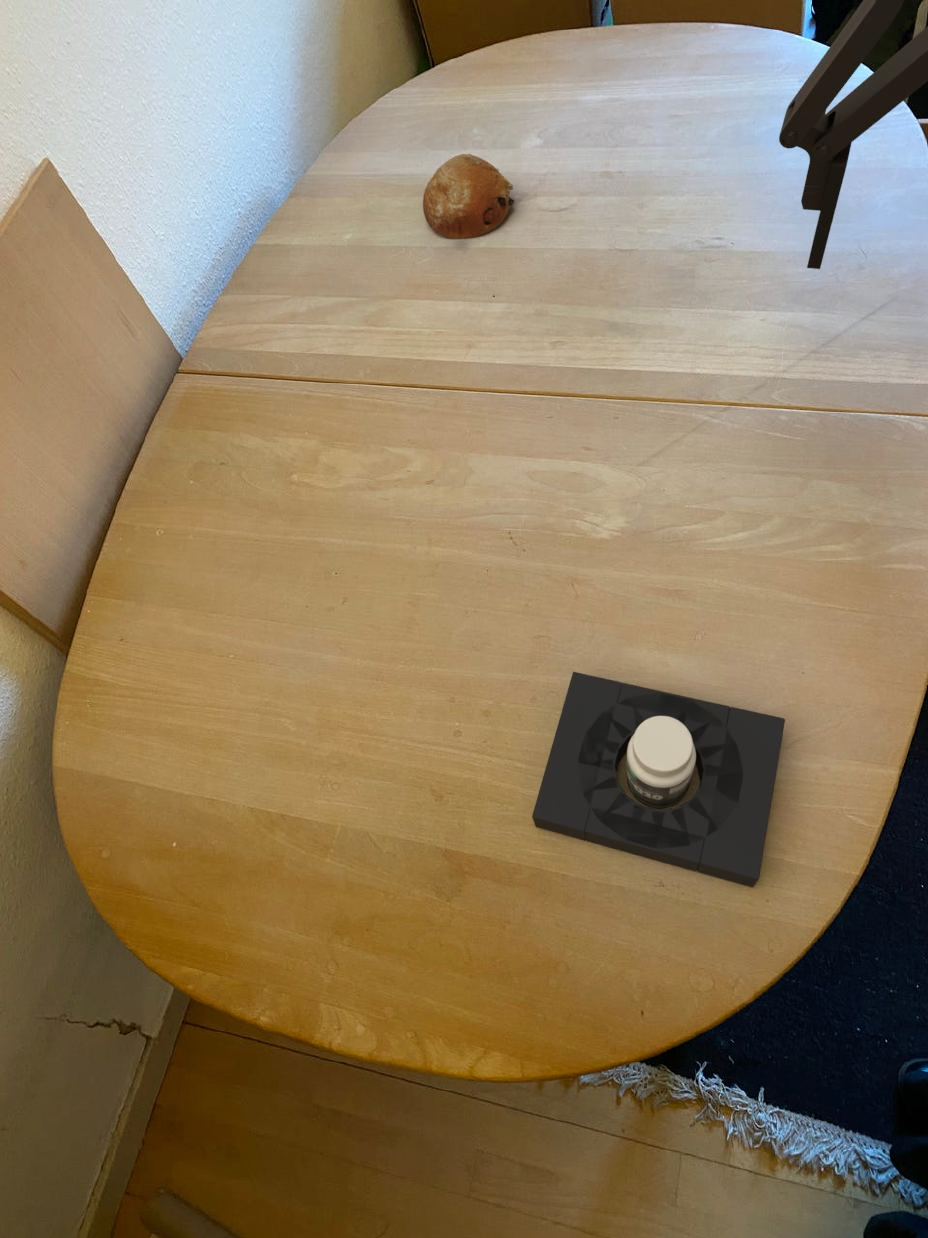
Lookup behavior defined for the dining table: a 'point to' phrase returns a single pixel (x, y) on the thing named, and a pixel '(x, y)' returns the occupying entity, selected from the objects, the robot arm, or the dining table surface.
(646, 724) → the pill bottle
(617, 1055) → the dining table surface
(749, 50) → the dining table surface
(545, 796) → the black rectangular holder
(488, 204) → the bread roll
